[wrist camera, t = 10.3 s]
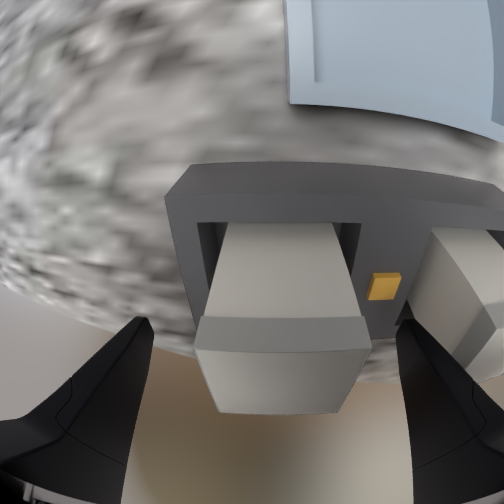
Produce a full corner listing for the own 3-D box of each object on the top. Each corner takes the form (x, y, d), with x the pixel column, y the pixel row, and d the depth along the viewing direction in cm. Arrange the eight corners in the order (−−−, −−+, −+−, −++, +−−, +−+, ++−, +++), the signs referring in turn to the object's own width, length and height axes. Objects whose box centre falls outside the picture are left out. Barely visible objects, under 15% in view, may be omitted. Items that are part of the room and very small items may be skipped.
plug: (327, 207, 11) (372, 347, 6) (319, 281, 14) (337, 412, 8) (231, 207, 12) (192, 348, 6) (238, 281, 14) (218, 412, 8)
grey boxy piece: (493, 184, 10) (584, 273, 4) (455, 287, 15) (502, 385, 8) (191, 164, 12) (98, 289, 5) (211, 292, 16) (181, 421, 9)
